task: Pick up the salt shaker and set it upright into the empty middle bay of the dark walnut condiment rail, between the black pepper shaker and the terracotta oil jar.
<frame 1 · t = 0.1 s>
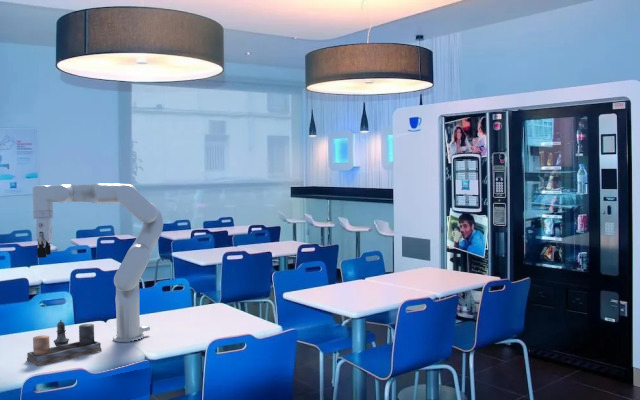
hand: (44, 256, 252), 37 cm above the table, tool pointing down, fingers open, 9 cm apart
condiment rail: (65, 355, 237), on the table
salt shaker: (61, 349, 246), on the table
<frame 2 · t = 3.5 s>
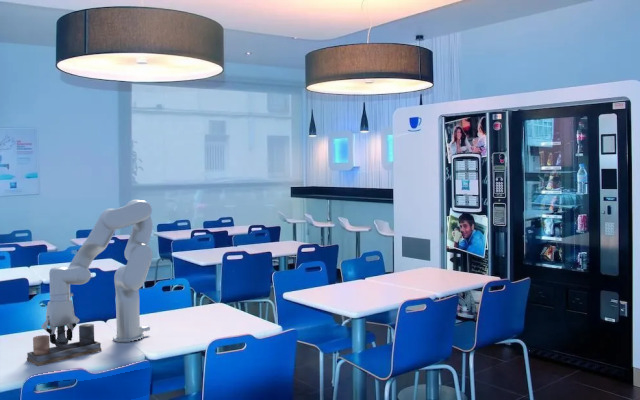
hand: (61, 341, 246), 3 cm above the table, tool pointing down, fingers closed on salt shaker, 5 cm apart
salt shaker: (61, 349, 246), on the table, touching gripper
when the fingers open (5 cm above the table, at t = 8.6 s): salt shaker drops 1 cm, resting on condiment rail.
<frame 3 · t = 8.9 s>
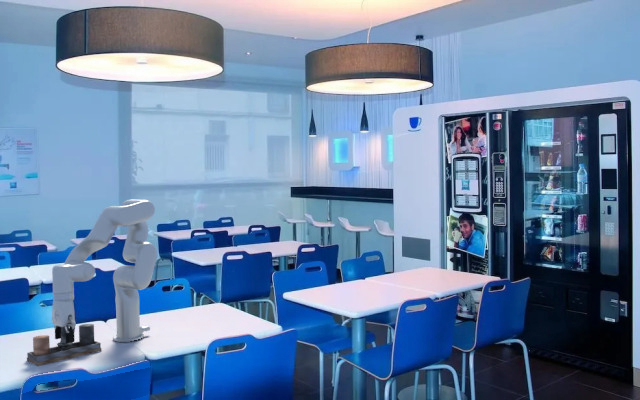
hand: (64, 340, 236), 6 cm above the table, tool pointing down, fingers open, 8 cm apart
salt shaker: (65, 353, 237), point 1 cm above the table, touching condiment rail
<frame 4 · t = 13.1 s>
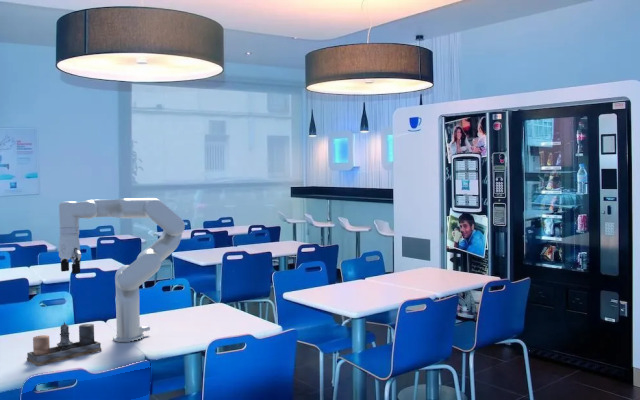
hand: (70, 272, 252), 30 cm above the table, tool pointing down, fingers open, 9 cm apart
nothing on the table moved.
at the end: salt shaker 0.1 cm off-centre on the condiment rail, point 1.0 cm above the condiment rail's base; salt shaker tilted 0°; the gripper is holding nothing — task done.
